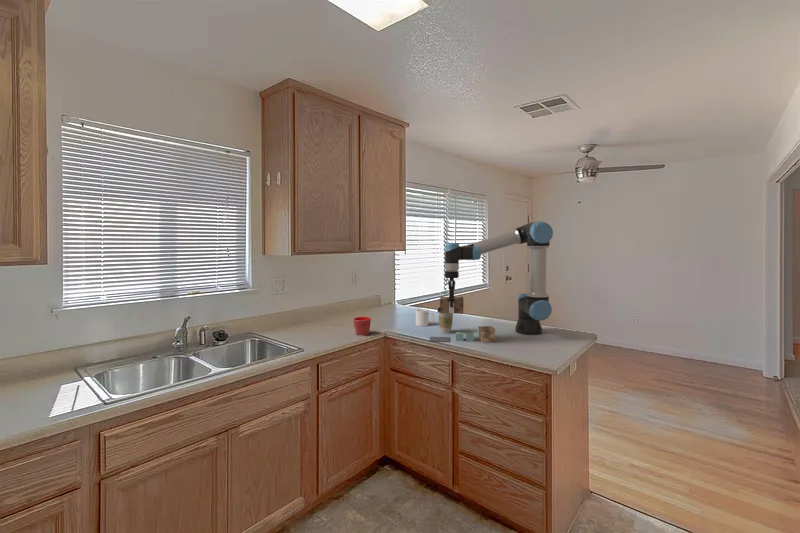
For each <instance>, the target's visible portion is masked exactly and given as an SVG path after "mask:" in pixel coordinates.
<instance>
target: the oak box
mask: <svg viewBox="0 0 800 533" xmlns="http://www.w3.org/2000/svg"><path fill="white" fill-rule="evenodd" d="M477 328H478V340H479V342H481V343H495V342H496V341H495V340H496V338H495V336H496V328H494V326H491V325H490V326H488V325H486V326H477Z"/></svg>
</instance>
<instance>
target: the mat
mask: <svg viewBox="0 0 800 533" xmlns="http://www.w3.org/2000/svg"><path fill="white" fill-rule="evenodd" d="M428 342H429V343H431V342H432V343H436V342H437V343H450V336H430V337H429V341H428Z"/></svg>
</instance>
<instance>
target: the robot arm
mask: <svg viewBox="0 0 800 533" xmlns="http://www.w3.org/2000/svg"><path fill="white" fill-rule="evenodd" d="M553 235H554V232H553V228H552V226H551V225H550V224H549V223H548V222H545V221H534V222H533V221H532V222H528V223H526V224H524V225H521V226H519V227H517V228H514V229H513V230H512V231H508V232H505V233H502V234H499V235H496V236H493V237H489V238H486V239H483V240H478V241H477V242H473V243H470V244H466V245H462V246H461V245H460V243H459V242H447V243H445V247H444V265H443V267H444V270H445V272H444V277H445V278H446V279H449V280H448V282H447V284H448V290H449V291H448V292H449V293H448V294H449V296H448V297H449V300H448V301H449V313H453V314H455V313H454V297H455V289H456V281H455V279H458V278H459V277H460V275H459V274H460V273H459V270H460V264H459V262H460V261H478V260H480V259H481V257H482V254H486V253H489V252H493V251H496V250H500V249H502V248H503V249H504V248H506V247H507V248H508V247H509V246H512V245H517V244H518V245H522V244H526V243H527V244H526V246H527V248H528V249H529V292H528V293H519V294H518V298H517V303H518V304H517V305H518V308H517V310H518V314H517V315H518V319H517V321H516V325H515V326H514V327H515V333H518V334H521V335H528V336H529V335H531V336H534V335H541V334H542V333H543V327H542V324H541V322H540V321H545V320H547V319H548V318H549V317H550V316H551V315H552V311H553V307H552V305H551V303H550V300H549V299H550V298H549V296H550V295H549V294H548V293H547V249H548V248H550V243H551V240H552V239H553ZM451 298H453V299H451Z"/></svg>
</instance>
